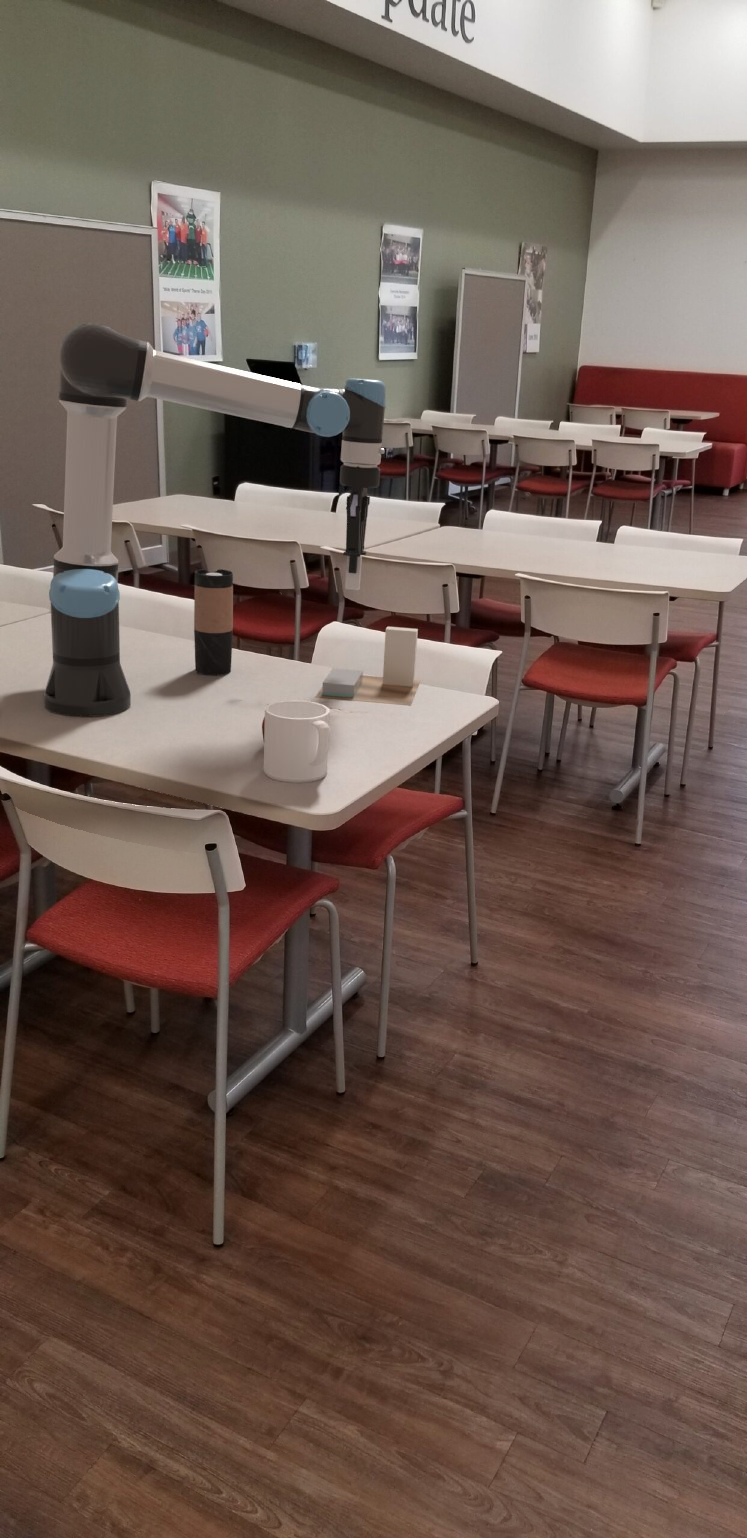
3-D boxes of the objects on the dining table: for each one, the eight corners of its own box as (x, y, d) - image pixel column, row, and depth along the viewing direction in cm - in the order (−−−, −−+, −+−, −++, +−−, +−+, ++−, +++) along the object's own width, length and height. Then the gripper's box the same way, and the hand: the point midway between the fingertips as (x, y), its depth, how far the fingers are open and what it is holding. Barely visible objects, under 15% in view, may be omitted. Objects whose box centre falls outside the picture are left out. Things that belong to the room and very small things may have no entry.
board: (410, 711, 222) (410, 705, 221) (315, 702, 224) (315, 696, 223) (420, 686, 238) (420, 680, 238) (331, 678, 240) (331, 672, 240)
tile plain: (412, 686, 233) (416, 631, 230) (382, 684, 234) (385, 629, 230) (414, 683, 235) (417, 628, 232) (384, 680, 236) (387, 626, 232)
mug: (251, 768, 188) (252, 706, 185) (302, 757, 194) (304, 696, 191) (297, 792, 179) (300, 727, 176) (350, 780, 185) (353, 717, 182)
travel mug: (216, 677, 236) (216, 577, 230) (186, 670, 240) (186, 571, 233) (239, 670, 243) (241, 572, 236) (210, 663, 246) (210, 567, 240)
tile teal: (362, 682, 234) (353, 697, 224) (332, 679, 235) (322, 694, 225) (362, 670, 233) (354, 685, 223) (332, 667, 234) (322, 682, 224)
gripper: (375, 469, 218) (366, 596, 226) (384, 463, 231) (375, 584, 238) (335, 465, 219) (327, 592, 227) (346, 460, 231) (338, 581, 239)
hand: (352, 588), depth 233 cm, fingers closed
